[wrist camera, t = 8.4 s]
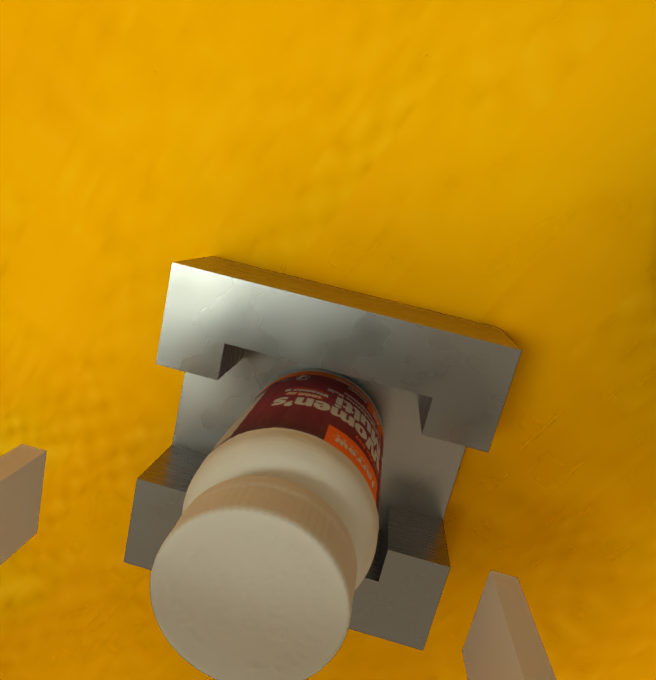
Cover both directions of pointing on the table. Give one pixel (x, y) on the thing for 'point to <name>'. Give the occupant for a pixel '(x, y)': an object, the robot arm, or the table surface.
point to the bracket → (361, 368)
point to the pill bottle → (275, 533)
